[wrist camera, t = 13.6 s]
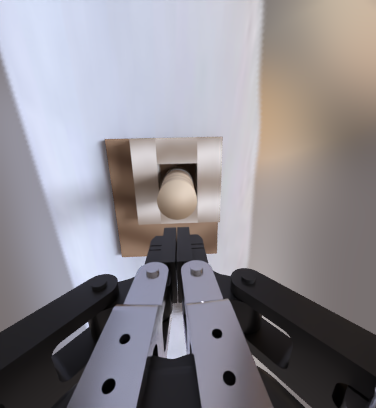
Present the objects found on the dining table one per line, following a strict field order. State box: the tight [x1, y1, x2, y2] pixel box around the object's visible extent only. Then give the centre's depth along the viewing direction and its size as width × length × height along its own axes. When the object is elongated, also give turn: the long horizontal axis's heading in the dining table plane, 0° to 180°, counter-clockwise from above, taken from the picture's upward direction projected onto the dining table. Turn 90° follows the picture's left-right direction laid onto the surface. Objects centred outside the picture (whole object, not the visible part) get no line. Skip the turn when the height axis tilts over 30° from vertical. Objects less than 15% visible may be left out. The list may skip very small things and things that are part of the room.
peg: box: [157, 167, 197, 220], centre depth 25 cm, size 4×4×12 cm
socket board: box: [105, 137, 223, 257], centre depth 31 cm, size 20×17×6 cm
